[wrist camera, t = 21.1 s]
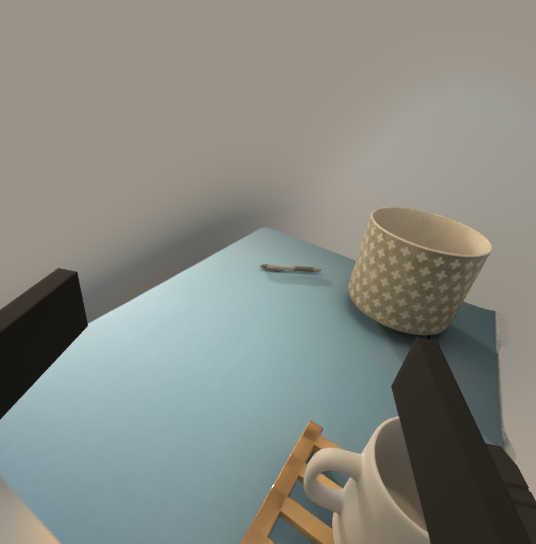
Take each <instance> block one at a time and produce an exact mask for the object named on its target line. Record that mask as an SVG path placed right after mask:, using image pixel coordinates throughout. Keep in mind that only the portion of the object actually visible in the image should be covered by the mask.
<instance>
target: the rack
mask: <svg viewBox="0 0 536 544" xmlns="http://www.w3.org/2000/svg"><path fill="white" fill-rule="evenodd" d="M322 430H323V428H322V427H320V426H319V425H317V424H315V423H314V422H312V421H309V423H308V425H307V427H306V428H305V430H304V432H303V434H302V435H301V437H300V439H299V441H298V442H297V444H296V446H295V448H294V449H293V451H292V453H291V455H290V457H289V458H288V460H287V462H286V464H285V465H284V467H283V469H282V471H281V472H280V474H279V476H278V478H277V479H276V481H275V483H274V485H273V486H272V488H271V490H270V492H269V493H268V495H267V497H266V499H265V501H264V502H263V504H262V506H261V508H260V509H259V511H258V513H257V515H256V516H255V518H254V520H253V522H252V523H251V525H250V527H249V529H248V530H247V532H246V534H245V536H244V537H243V539H242V541H241V543H240V544H275V543H274V542H272V541H271V540H270V539H269V538H268V537H269V535H270V533H271V531H272V529H273V527H274V525H275V523H276V521H277V519H278V517H279V516H280V517H281V518H282V519H284V520H285V521H286V522H287V523H289V524H290V525H291V526H293V527H294V528H295V529H296V530H298V531H299V532H300V533H302V534H303V535H304V536H305V537H307V538H308V539H309V540H311V541H312V542H313V543H314V544H334V539H333V530H332V529H331V528H330V527H329V526H327V525H326V524H325V523H323V522H322V521H321V520H319V519H318V518H317V517H315V516H314V515H312V514H311V513H310V512H308V511H307V510H306V509H304V508H303V507H302V506H300V505H299V504H298V503H296V502H295V501H294V500H292V499H291V498H290V497H289V496H290V494H291V492H292V490H293V488H294V486H295V484H296V482H297V480H298V481H300V482H301V483H303V484H304V474H305V471H306V467H307V465H308V464H306V462H307V460H310V459H311V457H312V455H313V453H314V451H315V452H318V451H319V450H321V449H324V448H338V449H342V448H340V447H339V446H337V445H336V444H334V443H332V442H331V441H329V440H328V439H326V438H324V437H323V436H321V433H322ZM342 450H344V449H342ZM317 480H318V481H319V482H320V483H321V484H323V485H325V486H328V487H331V488H334V489H343V488H342V487H340V486H339V485H337V484H336V483H334V482H333V481H331V480H330V479H328V478H327V477H325V476H324V475H322V474H321V473H320V474H319V475H318V476H317Z"/></svg>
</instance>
